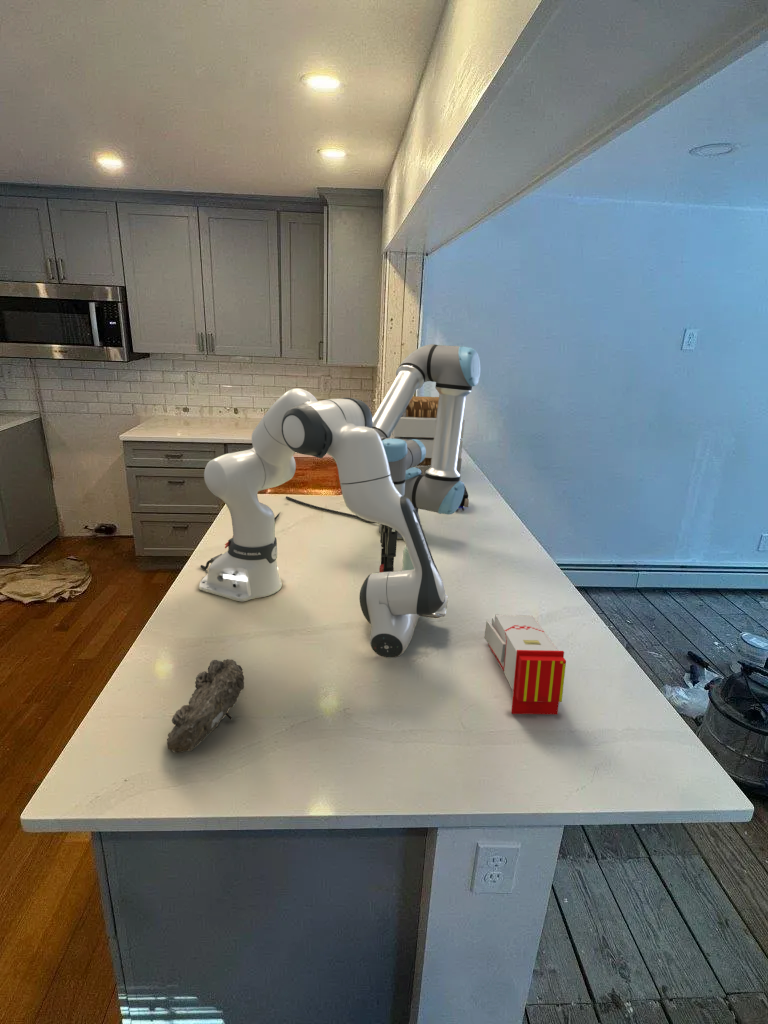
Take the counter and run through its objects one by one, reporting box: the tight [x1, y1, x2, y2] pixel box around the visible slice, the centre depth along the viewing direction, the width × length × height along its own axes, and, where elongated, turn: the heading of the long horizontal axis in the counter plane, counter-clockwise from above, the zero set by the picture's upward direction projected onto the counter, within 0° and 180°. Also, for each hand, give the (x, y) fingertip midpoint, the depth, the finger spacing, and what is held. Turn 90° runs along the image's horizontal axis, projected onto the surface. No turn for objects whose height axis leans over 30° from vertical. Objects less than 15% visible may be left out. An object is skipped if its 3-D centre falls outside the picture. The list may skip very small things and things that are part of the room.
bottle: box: [401, 546, 414, 571], centre depth 146 cm, size 5×5×22 cm
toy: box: [484, 614, 567, 716], centre depth 124 cm, size 12×13×30 cm
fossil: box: [166, 658, 245, 754], centre depth 106 cm, size 22×10×15 cm
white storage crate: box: [390, 395, 465, 475], centre depth 268 cm, size 34×33×41 cm
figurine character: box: [456, 485, 470, 512], centre depth 229 cm, size 7×8×15 cm
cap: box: [378, 563, 395, 573], centre depth 163 cm, size 4×4×2 cm
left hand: (412, 585), depth 148 cm, fingers closed on bottle, 5 cm apart
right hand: (386, 572), depth 164 cm, fingers closed on cap, 4 cm apart
